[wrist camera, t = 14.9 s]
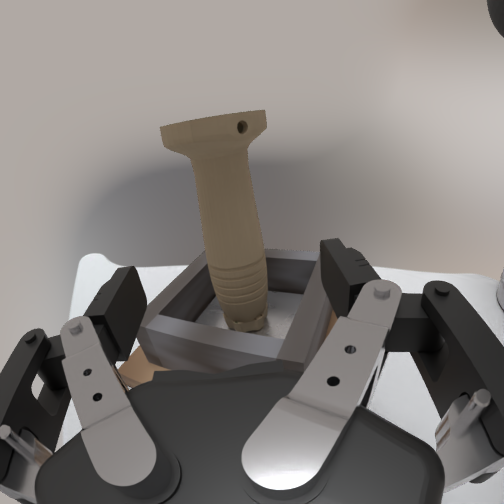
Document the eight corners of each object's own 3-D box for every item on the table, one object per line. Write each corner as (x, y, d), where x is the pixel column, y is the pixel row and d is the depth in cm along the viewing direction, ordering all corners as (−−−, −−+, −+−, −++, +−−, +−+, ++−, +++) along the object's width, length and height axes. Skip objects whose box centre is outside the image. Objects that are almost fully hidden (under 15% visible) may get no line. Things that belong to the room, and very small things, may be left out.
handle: (196, 329, 22) (147, 130, 16) (255, 292, 26) (229, 114, 19) (237, 359, 19) (188, 120, 12) (298, 312, 23) (280, 108, 16)
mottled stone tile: (313, 303, 25) (313, 295, 25) (284, 378, 18) (284, 370, 18) (226, 292, 28) (224, 285, 28) (179, 352, 21) (176, 345, 21)
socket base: (359, 295, 27) (362, 244, 25) (327, 447, 14) (334, 399, 12) (213, 280, 33) (203, 235, 31) (123, 383, 20) (94, 333, 18)
